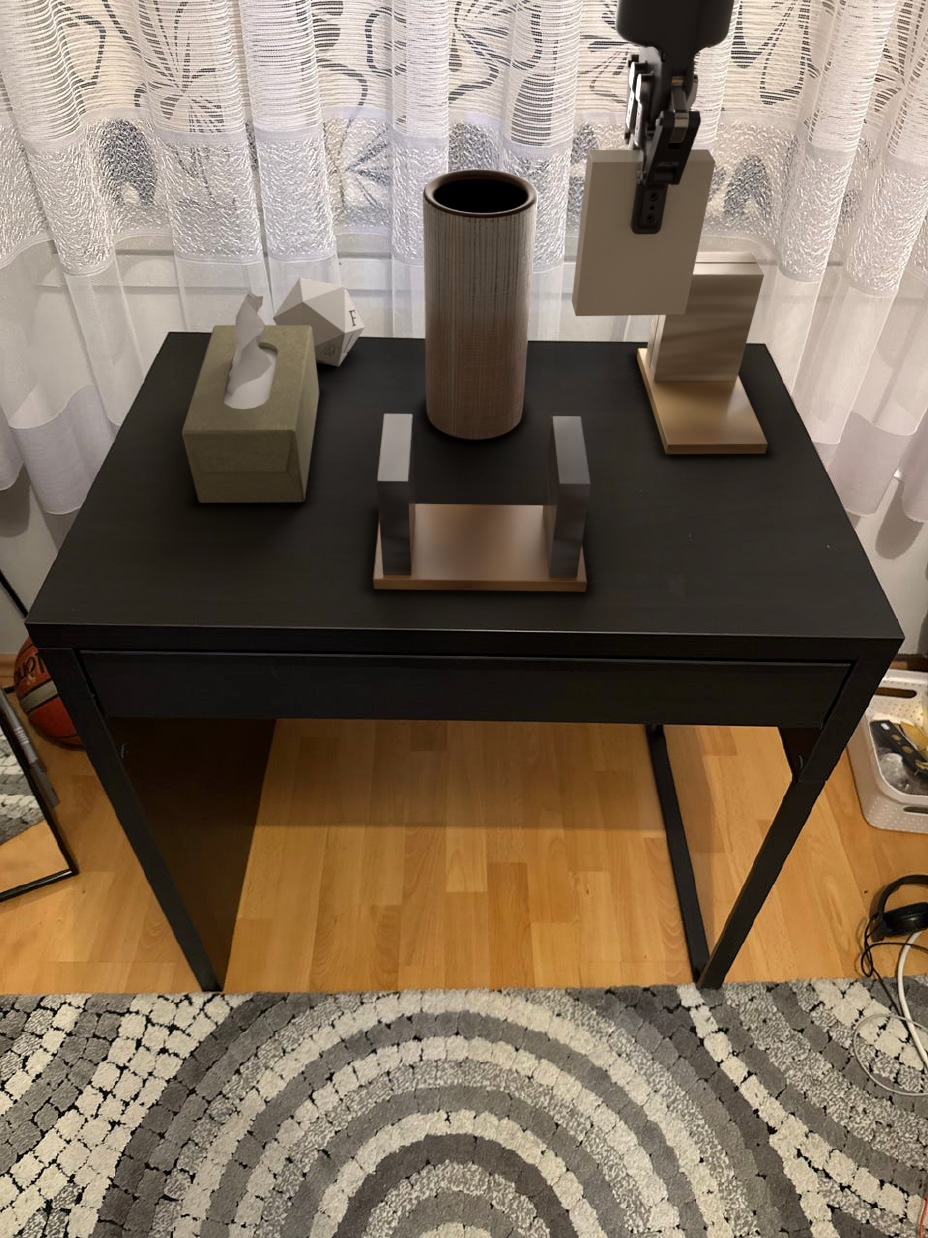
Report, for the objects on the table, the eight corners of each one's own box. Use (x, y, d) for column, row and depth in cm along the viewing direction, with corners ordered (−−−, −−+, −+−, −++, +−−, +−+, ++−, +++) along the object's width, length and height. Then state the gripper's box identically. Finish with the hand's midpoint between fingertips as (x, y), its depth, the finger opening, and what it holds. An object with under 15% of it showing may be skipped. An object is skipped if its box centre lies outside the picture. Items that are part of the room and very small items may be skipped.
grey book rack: (575, 515, 86) (589, 412, 78) (585, 592, 79) (601, 488, 71) (381, 513, 86) (374, 409, 78) (373, 589, 79) (365, 485, 71)
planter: (537, 430, 95) (556, 206, 78) (444, 449, 93) (444, 221, 76) (501, 379, 101) (512, 162, 85) (414, 395, 99) (408, 175, 82)
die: (307, 392, 100) (359, 319, 95) (246, 334, 100) (294, 258, 95) (341, 378, 108) (390, 311, 103) (283, 324, 107) (330, 254, 102)
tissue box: (304, 505, 86) (283, 353, 75) (198, 506, 86) (160, 353, 74) (319, 392, 99) (303, 247, 88) (227, 392, 99) (199, 246, 87)
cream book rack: (764, 453, 93) (802, 333, 83) (665, 454, 93) (691, 333, 83) (724, 357, 105) (752, 243, 96) (636, 357, 105) (656, 243, 95)
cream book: (684, 314, 76) (716, 161, 67) (575, 316, 75) (592, 161, 67) (678, 300, 78) (708, 148, 69) (571, 301, 77) (587, 149, 68)
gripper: (606, -74, 63) (580, 187, 76) (644, -22, 54) (607, 266, 66) (715, -73, 64) (670, 186, 76) (772, -21, 54) (710, 265, 67)
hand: (641, 222), depth 71 cm, fingers closed on cream book, 2 cm apart
